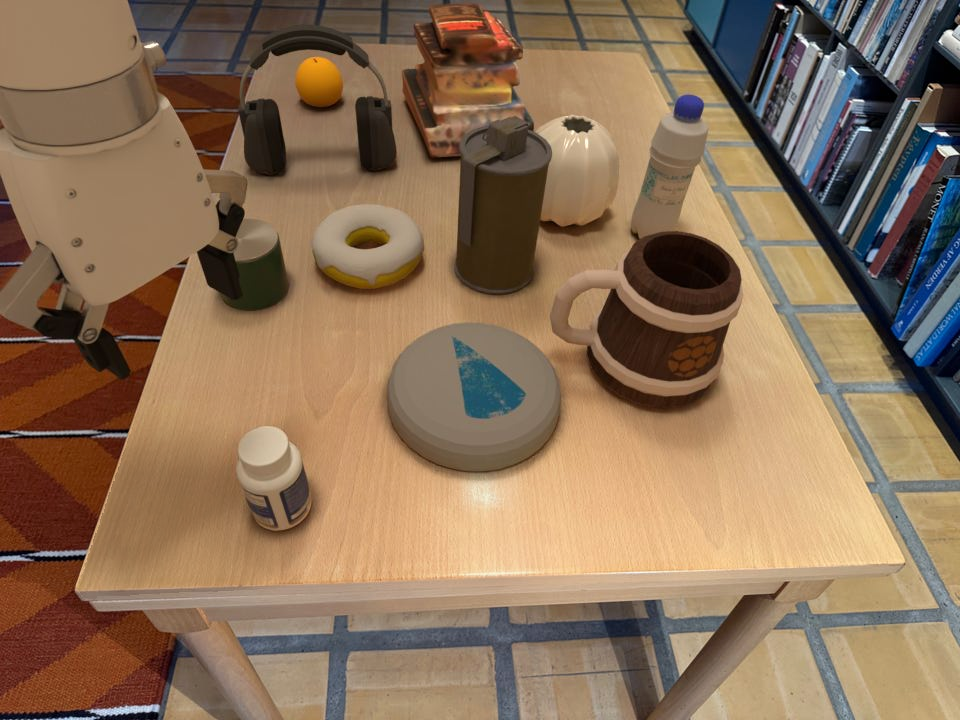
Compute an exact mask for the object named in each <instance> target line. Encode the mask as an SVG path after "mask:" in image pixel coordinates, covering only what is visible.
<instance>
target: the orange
mask: <svg viewBox="0 0 960 720" xmlns="http://www.w3.org/2000/svg"><path fill="white" fill-rule="evenodd" d="M294 79H295V80H294V82H295V87H296V91H297V93H298V95H299V97H300V98H301V100H302V101H303V102H305V103H306V104H307V105H309V106H312V107H316V108H327V107H330V106H332V105H334V104H336V103H337V102H338V101H339V100H340V99H341V97H342V94H343V90H344V81H343V77H342V75H341V73H340V71H339V68H338V67H337V65H335V64H334V63H333V62H332V61H331V60H330V59H327V58H325V57H322V56H312V57H308V58H306V59H304V60H303V61H302V62H301V63H300V65H299V66H298V67H297V70H296V73H295V78H294Z"/></svg>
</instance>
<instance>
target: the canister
mask: <svg viewBox="0 0 960 720" xmlns="http://www.w3.org/2000/svg"><path fill="white" fill-rule="evenodd" d="M530 127H531V124H530V123H528V122H526V121H524V120H522V119H520V118H519V117H517V116H513V117H508V118H505V119H503V120H496V121H493V122H491V123H490V124H489V125H487V126H483V127H480V128H476V129H473V130H471V131H470V132H468V133H467V134H465V136H464V137H463V138H462V139H461V142H460V144H459V149H460V153H461V156H460V165H459V166H460V167H459V187H458V189H459V191H458V211H457V233H456V235H457V237H456V252H455V253H456V256H455V259H454V262H453V267H454V268H453V269H454V272H455V275H456V277H457V278H458V279H459V280H460V282H462V284H464V285H465V286H466V287H469V288H470V289H472V290H475V291H477V292H480V293H484V294H488V295H503V294H504V295H505V294H507V295H508V294H511V293H515V292H518V291H519V290H521V289H523V288H524V287H526V286H527V285H529V283H530V282H531V280H532V279H533V276H534V272H535V271H534V270H535V268H534V262H535V257H536V256H535V255H536V248H537V242H538V236H539V231H540V223H541V220H540V218H541V211H542V205H543V199H544V192H545V186H546V179H547V173H548V167H549V162H550V161H551V158H552V149H551V146H550V144H549V143H548V142H547V140H546V139H544V138H543V137H542V136H540V135H539V134H537V133H536V131H534V132H533V131H531V130H528V128H530Z"/></svg>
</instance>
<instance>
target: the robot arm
mask: <svg viewBox="0 0 960 720" xmlns="http://www.w3.org/2000/svg"><path fill="white" fill-rule="evenodd" d="M166 64H167V56H166V53H165V52H164V50H163V48H162V47H161V45H160V44H159V43H158V42H156V41H155V40H149V41H147V42H144V43H143V42H141V38H140V36H139V32H138V29H137V25H136V22H135V20H134V17H133V13H132V10H131V7H130V4H129V0H0V122H1V123H2V125H3V128H1V129H0V178H1V180H2V183H3V186H4V189H5V192H6V195H7V197H8V200H9V203H10V205H11V208H12V210H13V213H14V215H15V217H16V220H17V222H18V224H19V226H20V227H19V228H20V229H21V231H22V234H23V235H24V238H25V241H26V243H27V245H28V246H29V250H30V251H31V252H30V254H29V255H28V256H27V257H26V259H25V260H24V261H23V262H22V264H21V265H20V266H19V268H17V270H16V271H15V272H14V274H13V275H12V276H11V277H10V279H9V280H8V281H7V283H6V284H5V285H4V286H3V287H2V288H1V290H0V315H1V316H2V317H4V318H5V319H7V320H8V321H10V322H12V323H14V324H17V325H20V326H22V327H24V328H26V329H28V330H30V331H34V332H36V333H39V334H40V335H42V336H43V337H47V338H54V339H64V340H65V339H66V340H73V341H74V343H75V345H76V347H77V348H78V350H79V352H80V353H81V355H82V357H83V359H84V360H85V362H86V363H87V364H88V365H89V366H90V367H91V368H92V369H93V370H95V371H97V372H98V373H102V372H103V371H105V370H107V371H108V372H110V374H112V375H114V376H115V377H117V378H118V379H120V380H121V381H124V380H126V379H128V377H130V376H131V374H130V373H132V370H131V368H130V366H129V364H128V362H127V359H126V358H125V356H124V354H123V352H122V351H121V349H120V346H119V344H118V343H117V341H116V339H115V337H114V336H113V333H111V332H110V331H109V330H108V329H105V328H104V327H103V325H104V322H105V319H106V316H107V313H108V310H109V307H110V304H111V303H113V302H117V301H118V300H120V299H123V297H125V296H127V295H129V294H131V293H132V292H135V291H136V290H138V289H139V288H140V287H143V286H144V285H146V284H148V283H149V282H151V281H153V280H154V279H155V278H158V277H159V276H161V275H162V274H164V273H165V272H167V271H169V270H170V269H172V268H174V267H175V266H177V265H178V264H180V263H181V262H183V261H184V260H186V259H188V258H190V257H191V256H193V255H194V254H196V255H197V257H198V260H199V263H200V267H201V269H202V272H203V275H204V279H205V281H206V284H207V286H208V287H209V288H211V289H213V290H214V291H216V292H218V293H220V294H221V293H222V294H223V295H225V296H227V297H228V298H230V299H232V300H238V299H239V298H241V297H242V296H243V293H242V290H241V286H240V283H239V278H240V275H239V271H238V268H237V264H236V261H235V257H234V254H233V252H235V251H236V250H237V248H238V245H239V241H238V239H237V238H235V237H236V235H237V232H238V230H239V228H240V225H241V223H242V221H243V219H245V215H246V212H245V209H244V207H243V205H244V204H245V202H246V196H247V192H248V191H247V190H248V184H249V181H248V178H247V177H246V176H245V175H243V174H240V173H238V172H236V171H234V170H230V169H229V170H227V169H206V168H205V169H204V168H203V166H202V163H201V160H200V158H199V156H198V153H197V151H196V149H195V146H194V145H193V142H192V141H191V138H190V137H189V134H188V132H187V130H186V129H185V126H184V125H183V123H182V121H181V120H180V119H181V118H179V116H178V114H177V113H176V110H175V109H174V107H173V106H172V104H171V102H170V101H169V99H168V97H166V96H165V95H164V94H163V93H161V92H159V87H158V85H157V82H156V81H157V80H156V78H155V74H154V73H155V72H156V71H157V70H158V68H160V67H163V66H165V65H166ZM213 194H219V196H218V198H219V200H218V201H217V202H215V198H214V196H213ZM53 283H54V284H55V285H59V284H60V283H62V285H61V288H60V293H59V295H58V299H57V303H56V304H55V305H56V306H55V308H49V307H43V306H38V303H39V301H40V300H41V298H42V297H43V296H44V294H45V293H46V292H47V290H48V289H49V288H50V287H51V286H52V284H53ZM83 302H84V303H83Z"/></svg>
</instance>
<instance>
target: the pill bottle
mask: <svg viewBox="0 0 960 720" xmlns="http://www.w3.org/2000/svg"><path fill="white" fill-rule="evenodd" d="M237 454H238V457H239V458H238V459H237V462H236V468H235V470H236V471H235V472H236V477H237V481H238V484H239V485H240V488H241V490H242V492H243V495H244V497H245V500H246V503H247V505H248V507H249V510H250V512H251V515H252V517H253V519H254V520H255V522H256V523H257V524H258V525H259V526H261V527H262V528H264V529H267V530H270V531H274V532H276V531H277V532H278V531H284V530H289V529H291V528H294V527H295V526H297V525H299V524H300V523H301V522H302V521H304V520H305V518H306V517H307V516H308V514H309V512H310V511H311V507H312V501H313V500H312V494H311V489H310V485H309V481H308V477H307V473H306V469H305V465H304V461H303V458H302V455H301V452H300V450H299V448H298V447H297V446H296V445H295V444H294V443H293V442H291V441H290V440H289V439H288V436H287V434H286V433H285V431H283V430H282V429H281V428H279V427H276V426H271V425H263V426H259V427H256V428H252V429H251V430H249V431H248V432H247V433H245V434H244V436H243V437H242V438H241V439H240V441H239V443H238V446H237Z"/></svg>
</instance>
